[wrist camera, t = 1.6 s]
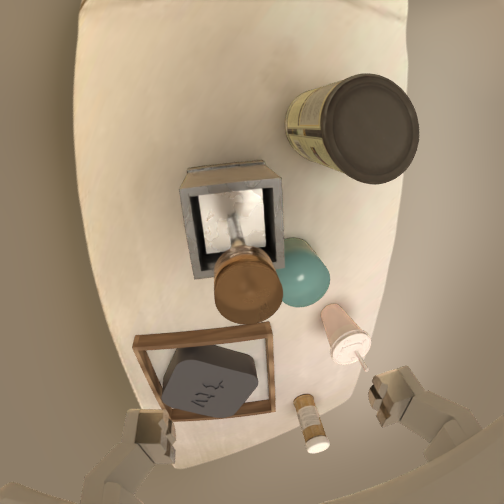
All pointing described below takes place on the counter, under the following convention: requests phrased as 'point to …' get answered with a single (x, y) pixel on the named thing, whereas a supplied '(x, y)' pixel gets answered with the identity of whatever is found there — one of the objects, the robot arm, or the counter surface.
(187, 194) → the square gray utensil holder
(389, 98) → the coffee can
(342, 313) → the smoothie
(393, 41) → the counter surface
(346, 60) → the counter surface
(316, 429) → the sprinkles bottle
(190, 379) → the streaming box
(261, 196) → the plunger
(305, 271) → the teal pillar candle
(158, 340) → the wooden square frame
